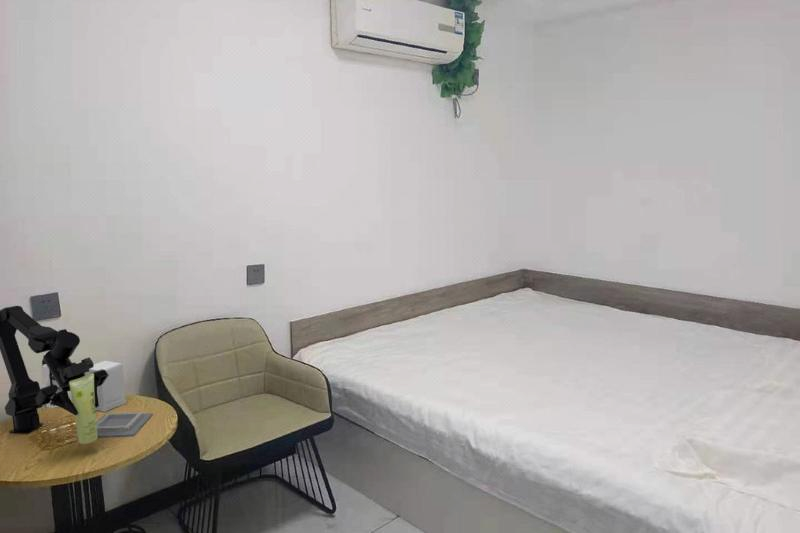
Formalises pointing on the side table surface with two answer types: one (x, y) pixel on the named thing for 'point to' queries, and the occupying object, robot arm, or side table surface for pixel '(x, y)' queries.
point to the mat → (123, 423)
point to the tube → (84, 408)
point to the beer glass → (48, 381)
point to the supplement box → (110, 386)
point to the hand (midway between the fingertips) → (87, 410)
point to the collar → (107, 417)
